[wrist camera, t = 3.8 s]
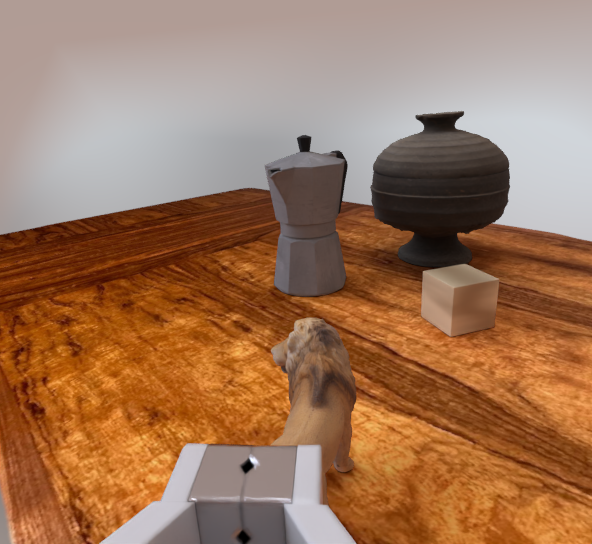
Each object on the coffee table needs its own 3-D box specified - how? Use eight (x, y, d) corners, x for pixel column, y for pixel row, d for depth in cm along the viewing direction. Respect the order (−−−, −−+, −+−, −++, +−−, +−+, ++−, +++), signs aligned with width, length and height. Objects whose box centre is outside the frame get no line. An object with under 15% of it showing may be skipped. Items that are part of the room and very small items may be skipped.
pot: (339, 256, 66) (348, 107, 60) (409, 239, 78) (422, 113, 72) (456, 288, 53) (482, 106, 47) (517, 262, 65) (544, 113, 59)
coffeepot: (311, 310, 51) (304, 140, 44) (247, 293, 56) (233, 140, 50) (376, 268, 62) (377, 129, 56) (318, 258, 67) (313, 130, 61)
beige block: (461, 307, 49) (464, 263, 47) (494, 327, 45) (499, 279, 43) (420, 316, 48) (422, 271, 46) (450, 337, 43) (453, 287, 42)
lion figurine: (280, 422, 33) (271, 307, 30) (355, 424, 32) (354, 306, 29) (233, 652, 19) (207, 482, 16) (363, 662, 18) (362, 487, 15)
